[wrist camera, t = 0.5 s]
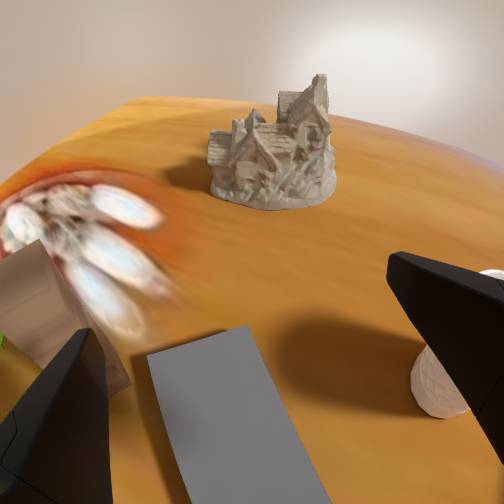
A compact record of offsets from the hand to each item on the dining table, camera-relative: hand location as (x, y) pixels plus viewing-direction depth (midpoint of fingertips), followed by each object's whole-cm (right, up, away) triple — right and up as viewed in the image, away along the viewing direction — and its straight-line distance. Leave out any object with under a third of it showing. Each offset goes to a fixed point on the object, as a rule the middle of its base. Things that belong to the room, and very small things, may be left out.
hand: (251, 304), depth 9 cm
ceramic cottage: (+3, +12, +33) cm, 35 cm away
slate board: (-1, -13, +10) cm, 16 cm away
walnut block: (-12, -9, +14) cm, 21 cm away
